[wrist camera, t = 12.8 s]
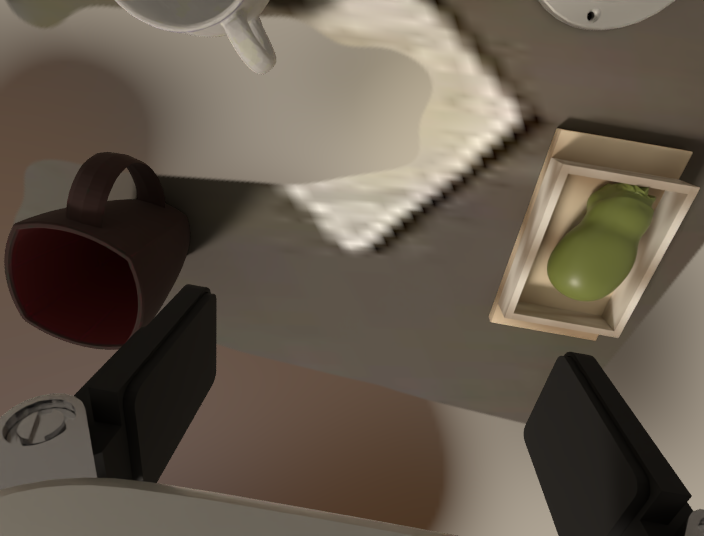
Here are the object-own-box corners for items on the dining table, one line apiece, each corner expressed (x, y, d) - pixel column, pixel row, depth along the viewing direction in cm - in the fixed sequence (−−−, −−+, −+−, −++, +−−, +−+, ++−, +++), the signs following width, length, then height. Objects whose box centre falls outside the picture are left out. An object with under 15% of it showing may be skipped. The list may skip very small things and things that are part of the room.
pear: (550, 293, 31) (630, 172, 29) (524, 272, 36) (589, 168, 34) (612, 322, 32) (695, 206, 29) (577, 297, 37) (646, 196, 34)
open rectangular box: (556, 127, 32) (574, 134, 29) (684, 149, 32) (716, 158, 29) (488, 316, 40) (496, 337, 37) (590, 334, 40) (607, 356, 37)
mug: (109, 260, 41) (10, 327, 31) (110, 121, 35) (-13, 144, 24) (204, 287, 42) (140, 363, 31) (222, 155, 36) (150, 192, 25)
